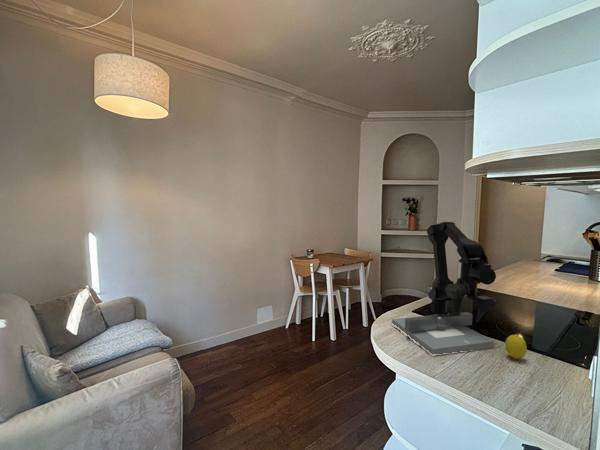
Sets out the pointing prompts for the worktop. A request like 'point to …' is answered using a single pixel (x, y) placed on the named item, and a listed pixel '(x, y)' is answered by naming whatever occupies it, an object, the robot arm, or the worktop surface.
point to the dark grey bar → (438, 321)
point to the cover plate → (447, 338)
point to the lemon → (516, 346)
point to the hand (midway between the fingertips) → (466, 317)
